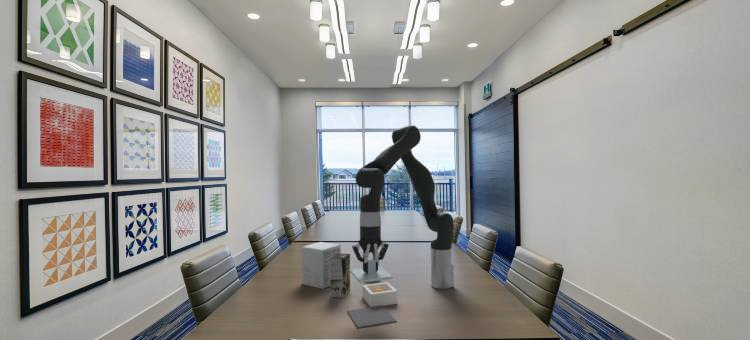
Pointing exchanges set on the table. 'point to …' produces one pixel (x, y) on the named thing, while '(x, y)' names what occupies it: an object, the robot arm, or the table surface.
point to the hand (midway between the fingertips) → (370, 272)
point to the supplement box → (318, 263)
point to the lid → (371, 273)
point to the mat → (371, 316)
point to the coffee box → (339, 275)
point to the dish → (379, 294)
